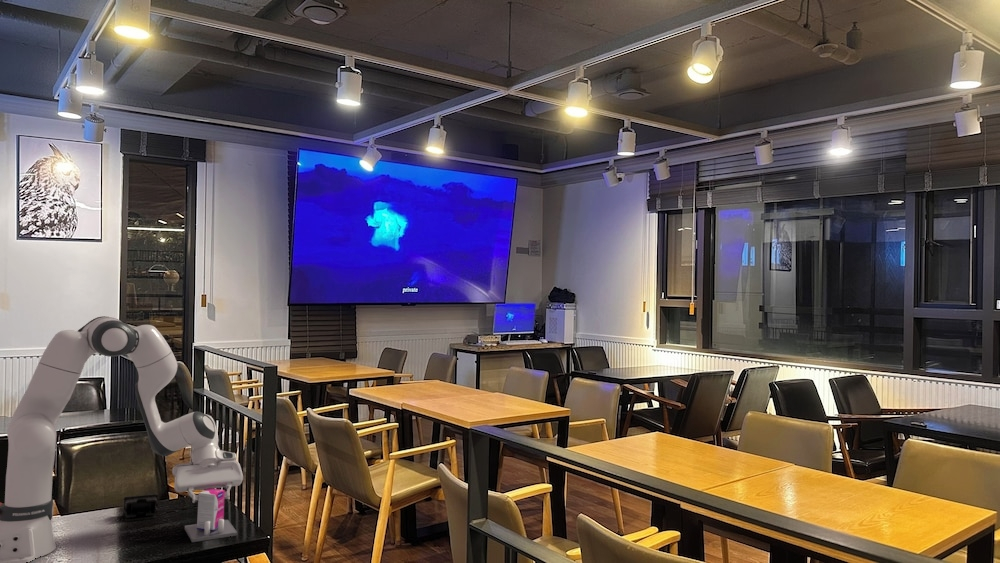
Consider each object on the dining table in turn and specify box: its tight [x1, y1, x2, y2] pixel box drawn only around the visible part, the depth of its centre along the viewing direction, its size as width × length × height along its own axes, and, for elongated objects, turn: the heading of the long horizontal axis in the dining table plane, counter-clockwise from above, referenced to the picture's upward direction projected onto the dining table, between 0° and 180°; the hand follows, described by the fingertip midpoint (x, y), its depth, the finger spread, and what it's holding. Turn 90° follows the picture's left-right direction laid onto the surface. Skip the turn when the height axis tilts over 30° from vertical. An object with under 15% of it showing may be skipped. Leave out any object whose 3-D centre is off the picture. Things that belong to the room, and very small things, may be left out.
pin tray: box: [184, 518, 238, 543], centre depth 221 cm, size 13×13×5 cm
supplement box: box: [196, 488, 226, 531], centre depth 221 cm, size 6×6×12 cm
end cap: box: [122, 493, 159, 522], centre depth 233 cm, size 10×7×7 cm
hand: (211, 499), depth 221 cm, fingers closed on supplement box, 8 cm apart
